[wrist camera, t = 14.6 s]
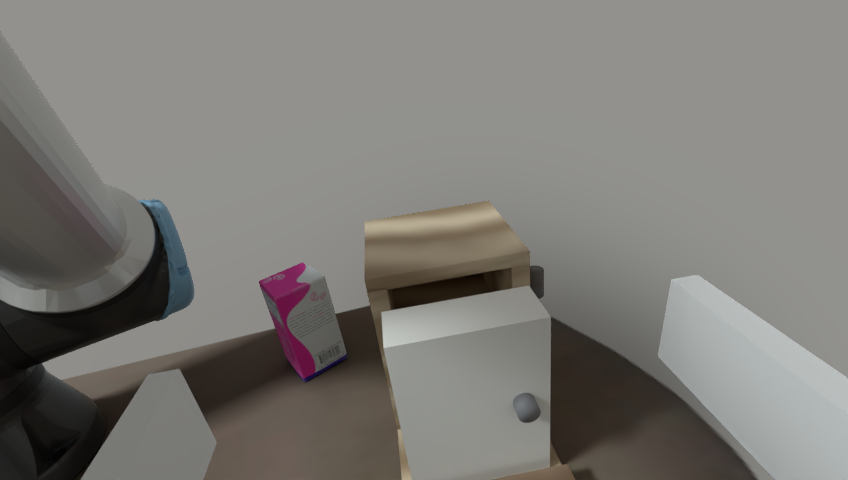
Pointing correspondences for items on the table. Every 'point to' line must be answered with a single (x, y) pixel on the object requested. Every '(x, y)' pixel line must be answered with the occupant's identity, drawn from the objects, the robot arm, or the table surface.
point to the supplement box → (304, 319)
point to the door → (472, 384)
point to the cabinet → (447, 276)
